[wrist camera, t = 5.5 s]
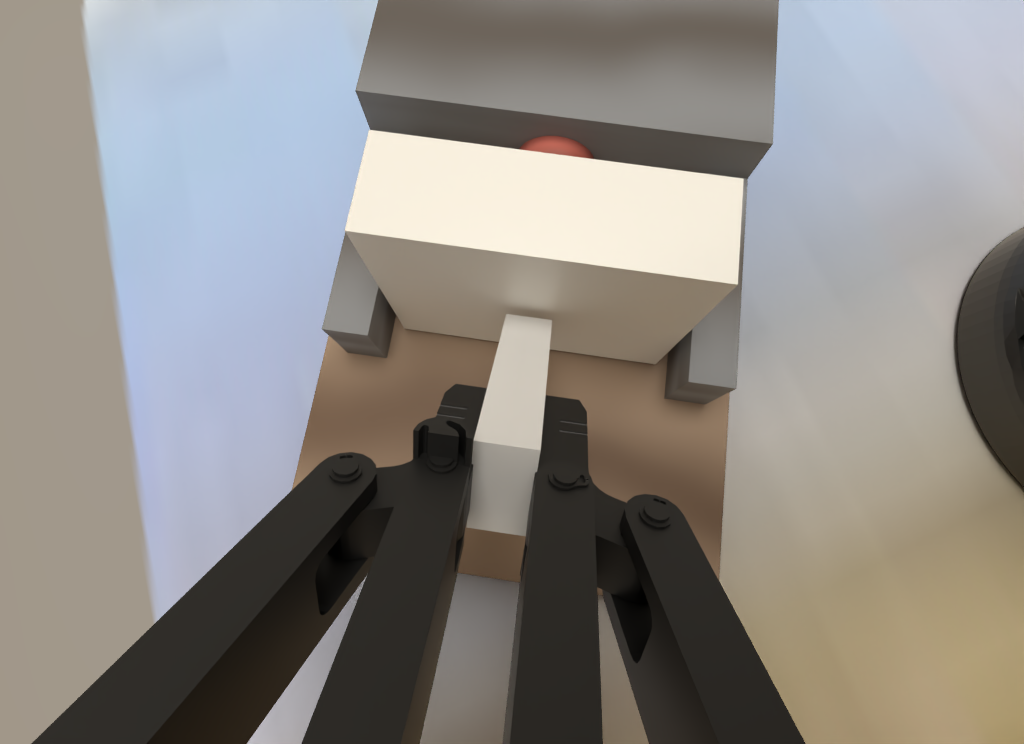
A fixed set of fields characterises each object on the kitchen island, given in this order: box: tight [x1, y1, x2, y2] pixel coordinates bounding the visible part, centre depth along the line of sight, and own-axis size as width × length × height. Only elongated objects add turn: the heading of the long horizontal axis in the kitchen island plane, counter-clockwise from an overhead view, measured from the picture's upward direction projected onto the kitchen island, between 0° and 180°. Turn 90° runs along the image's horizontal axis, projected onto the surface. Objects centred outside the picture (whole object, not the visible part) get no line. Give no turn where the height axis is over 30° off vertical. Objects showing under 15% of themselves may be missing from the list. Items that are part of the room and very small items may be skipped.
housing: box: [292, 0, 779, 596], centre depth 21 cm, size 22×16×6 cm
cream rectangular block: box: [345, 130, 744, 364], centre depth 18 cm, size 3×10×8 cm, turn 81°
